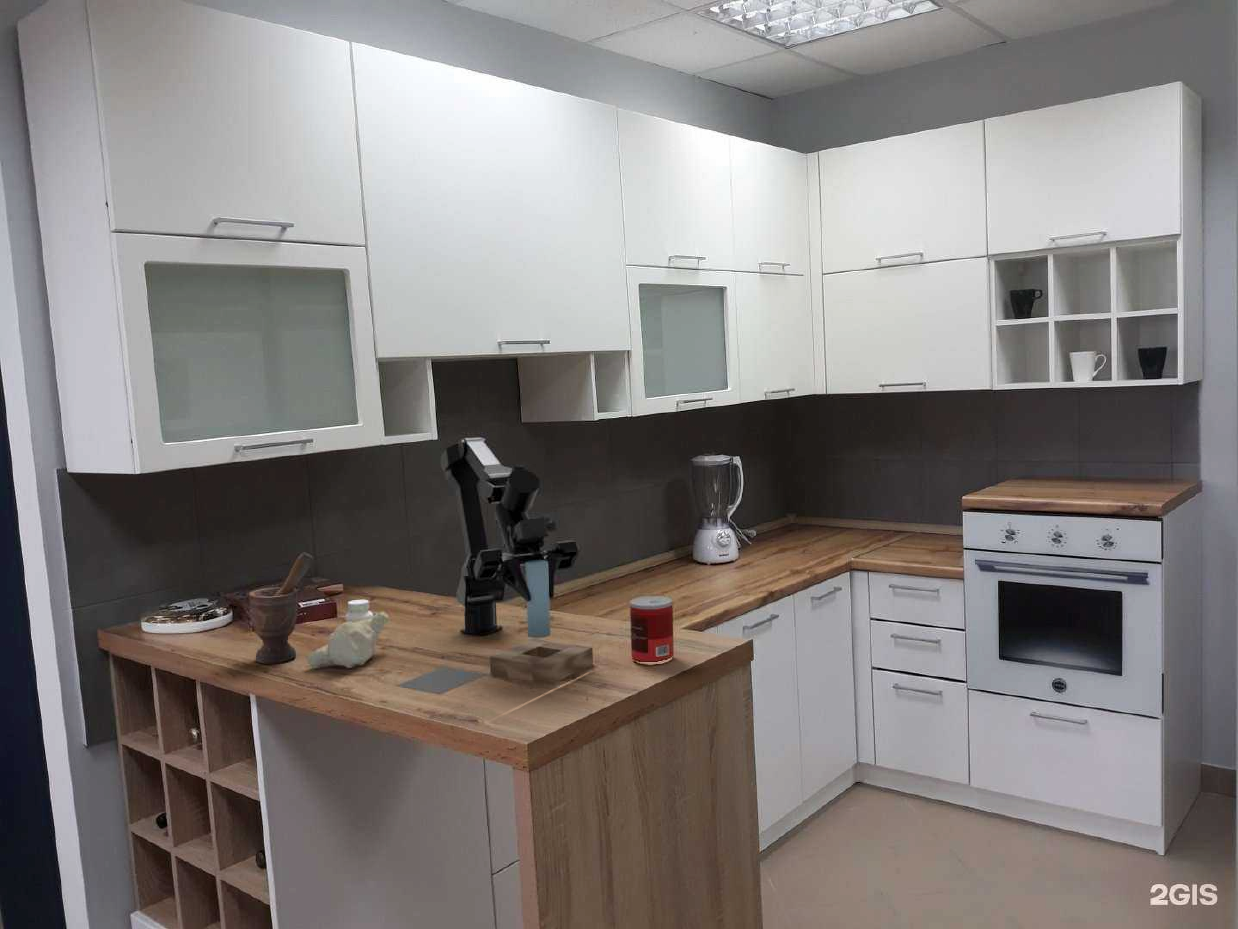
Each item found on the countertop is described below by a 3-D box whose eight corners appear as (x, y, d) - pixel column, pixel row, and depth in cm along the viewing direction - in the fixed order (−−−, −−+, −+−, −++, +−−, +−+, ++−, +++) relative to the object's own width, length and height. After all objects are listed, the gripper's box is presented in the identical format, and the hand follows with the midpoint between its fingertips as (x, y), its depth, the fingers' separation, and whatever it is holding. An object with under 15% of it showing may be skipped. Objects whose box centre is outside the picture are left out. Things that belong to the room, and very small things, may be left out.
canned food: (678, 655, 185) (677, 596, 184) (666, 667, 178) (665, 606, 177) (639, 652, 188) (638, 595, 187) (625, 664, 180) (624, 604, 179)
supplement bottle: (367, 655, 191) (365, 605, 190) (341, 654, 192) (339, 604, 191) (379, 647, 196) (377, 598, 196) (354, 646, 198) (352, 598, 197)
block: (534, 657, 186) (534, 639, 186) (593, 666, 180) (592, 647, 179) (490, 676, 175) (489, 656, 175) (550, 686, 169) (550, 666, 168)
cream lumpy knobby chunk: (319, 691, 176) (384, 634, 178) (294, 659, 178) (359, 603, 179) (350, 690, 191) (409, 638, 192) (327, 661, 193) (386, 609, 194)
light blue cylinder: (529, 632, 179) (526, 560, 177) (551, 631, 179) (549, 560, 177) (526, 638, 175) (523, 564, 173) (549, 637, 175) (546, 564, 173)
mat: (443, 669, 181) (443, 667, 180) (486, 676, 175) (486, 674, 175) (396, 687, 170) (395, 685, 170) (440, 696, 165) (440, 694, 165)
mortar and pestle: (302, 647, 198) (296, 547, 196) (323, 655, 192) (317, 552, 190) (245, 659, 190) (239, 556, 188) (265, 668, 184) (259, 561, 182)
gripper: (476, 505, 174) (500, 578, 165) (574, 496, 182) (601, 566, 173) (464, 543, 182) (486, 615, 173) (558, 533, 190) (584, 601, 181)
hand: (540, 598), depth 175 cm, fingers closed on light blue cylinder, 4 cm apart
